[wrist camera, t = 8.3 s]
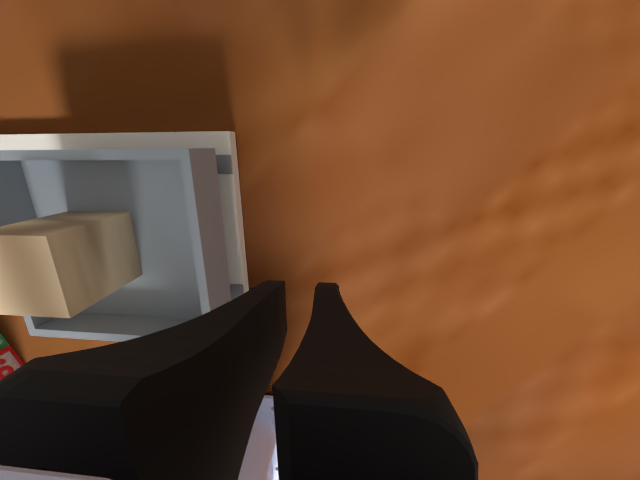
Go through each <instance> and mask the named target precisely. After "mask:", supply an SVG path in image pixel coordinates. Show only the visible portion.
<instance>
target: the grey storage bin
mask: <svg viewBox="0 0 640 480" xmlns="http://www.w3.org/2000/svg"><path fill="white" fill-rule="evenodd" d="M67 211H91V212H130V217H131V222H132V227H133V232H134V237H135V241H136V246H137V251H138V256H139V261H140V266H141V271H142V275H141V276H140V277H138V278H136V279H135V280H133V281H131V282H130V283H128V284H126V285H125V286H123V287H121V288H120V289H118V290H116V291H115V292H113V293H111V294H110V295H108V296H106V297H105V298H103V299H101V300H100V301H98V302H96V303H95V304H93V305H92V306H90V307H88V308H87V309H85V310H83V311H82V312H80V313H78V314H77V315H75V316H73V317H72V318H55V317H36V316H24V319H25V322H26V325H27V328H28V331H29V334H30V336H44V337H59V338H74V339H89V340H105V341H120V342H123V341H126V340H130V339H134V338H138V337H141V336H145V335H148V334H151V333H154V332H157V331H160V330H164V329H167V328H170V327H173V326H176V325H178V324H181V323H184V322H186V321H189V320H191V319H194V318H196V317H198V316H201V315H203V314H205V313H207V312H210V311H211V310H213V309H215V308H217V307H219V306H221V305H223V304H225V303H227V302H229V301H231V292H230V283H229V274H228V264H227V255H226V246H225V237H224V227H223V218H222V209H221V200H220V190H219V181H218V172H217V163H216V153H215V148H183V149H76V150H0V226H5V225H9V224H14V223H18V222H22V221H27V220H31V219H36V218H40V217H45V216H49V215H53V214H58V213H62V212H67Z"/></svg>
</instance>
